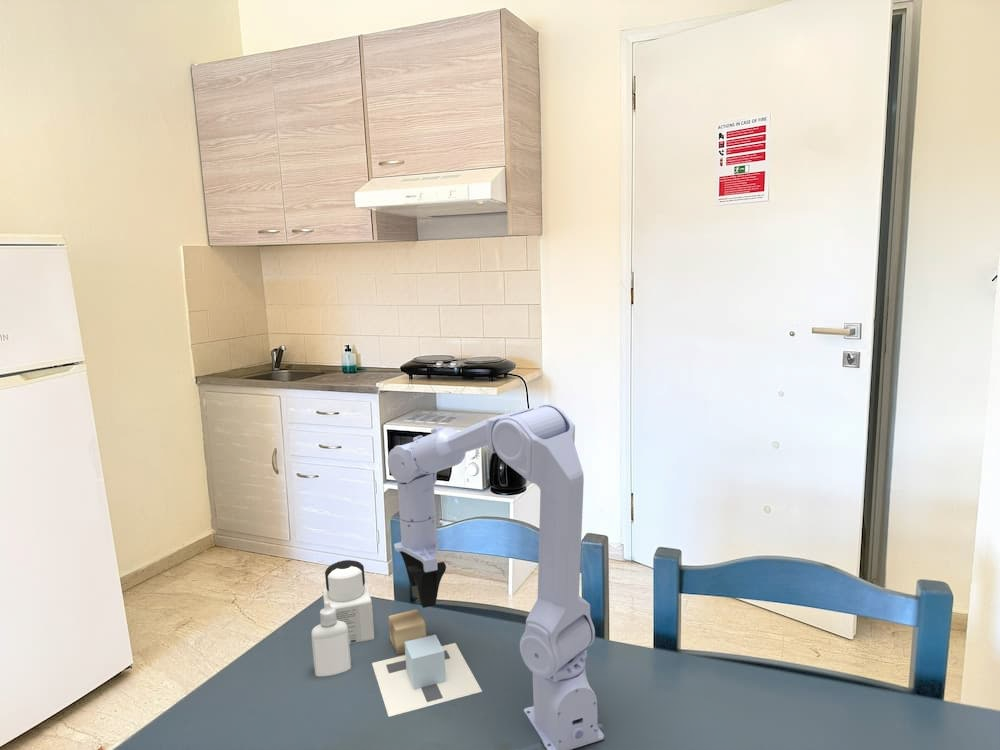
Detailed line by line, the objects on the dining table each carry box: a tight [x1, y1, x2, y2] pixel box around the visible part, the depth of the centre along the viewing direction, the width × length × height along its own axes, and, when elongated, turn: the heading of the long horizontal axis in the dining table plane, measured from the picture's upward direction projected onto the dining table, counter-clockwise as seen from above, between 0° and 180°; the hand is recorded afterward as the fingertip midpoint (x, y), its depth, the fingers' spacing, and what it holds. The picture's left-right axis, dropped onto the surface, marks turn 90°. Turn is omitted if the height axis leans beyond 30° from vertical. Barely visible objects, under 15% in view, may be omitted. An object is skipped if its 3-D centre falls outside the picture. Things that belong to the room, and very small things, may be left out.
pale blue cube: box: [404, 634, 446, 689], centre depth 103 cm, size 5×5×5 cm
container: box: [322, 559, 375, 645], centre depth 116 cm, size 8×8×13 cm
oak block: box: [388, 609, 427, 655], centre depth 112 cm, size 5×5×5 cm
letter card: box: [371, 642, 483, 718], centre depth 103 cm, size 14×14×1 cm
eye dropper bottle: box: [310, 601, 352, 677], centre depth 105 cm, size 4×6×12 cm
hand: (422, 594), depth 108 cm, fingers open, 7 cm apart
